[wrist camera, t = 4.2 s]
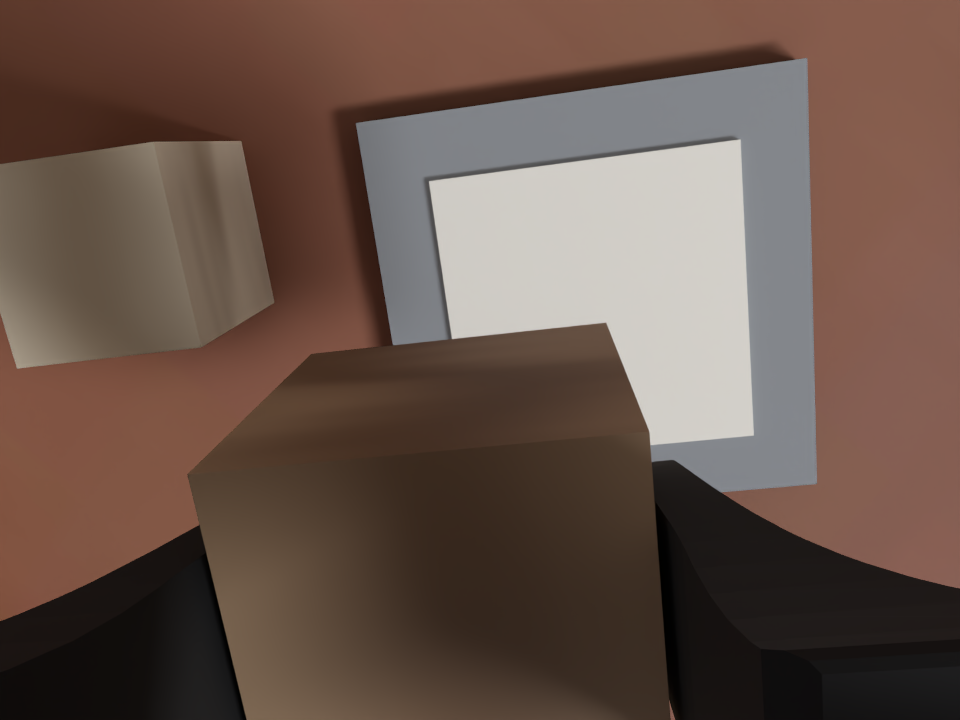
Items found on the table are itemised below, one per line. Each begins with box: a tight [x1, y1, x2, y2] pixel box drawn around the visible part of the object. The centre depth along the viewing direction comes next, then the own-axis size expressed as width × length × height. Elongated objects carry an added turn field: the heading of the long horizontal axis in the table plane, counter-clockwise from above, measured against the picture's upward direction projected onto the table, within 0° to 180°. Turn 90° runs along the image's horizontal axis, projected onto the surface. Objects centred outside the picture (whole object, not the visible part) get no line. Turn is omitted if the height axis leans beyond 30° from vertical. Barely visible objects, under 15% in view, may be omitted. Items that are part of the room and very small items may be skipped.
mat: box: [356, 58, 817, 492], centre depth 19 cm, size 10×10×1 cm
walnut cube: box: [187, 323, 670, 720], centre depth 11 cm, size 5×5×5 cm
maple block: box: [0, 141, 274, 368], centre depth 18 cm, size 4×4×4 cm
